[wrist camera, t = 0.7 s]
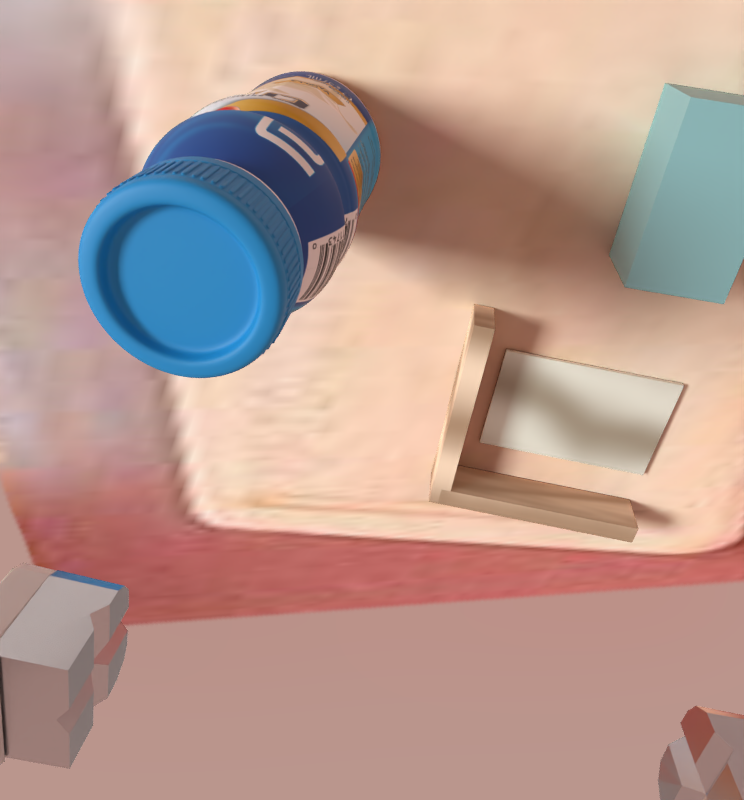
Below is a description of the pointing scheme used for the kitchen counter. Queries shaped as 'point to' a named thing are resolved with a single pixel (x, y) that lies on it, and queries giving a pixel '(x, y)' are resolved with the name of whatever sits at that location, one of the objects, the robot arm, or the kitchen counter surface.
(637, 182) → the teal block
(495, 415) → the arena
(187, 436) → the kitchen counter surface
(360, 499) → the kitchen counter surface
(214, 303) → the beverage bottle
